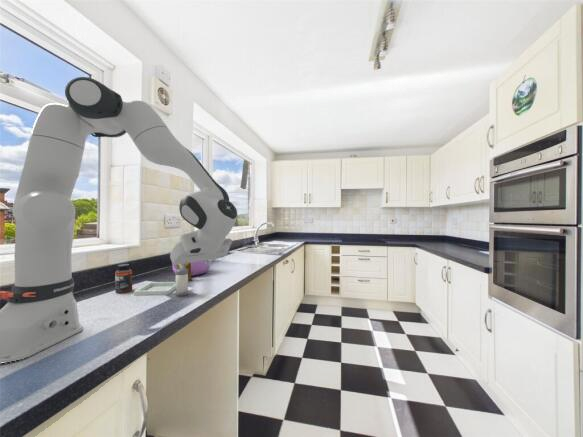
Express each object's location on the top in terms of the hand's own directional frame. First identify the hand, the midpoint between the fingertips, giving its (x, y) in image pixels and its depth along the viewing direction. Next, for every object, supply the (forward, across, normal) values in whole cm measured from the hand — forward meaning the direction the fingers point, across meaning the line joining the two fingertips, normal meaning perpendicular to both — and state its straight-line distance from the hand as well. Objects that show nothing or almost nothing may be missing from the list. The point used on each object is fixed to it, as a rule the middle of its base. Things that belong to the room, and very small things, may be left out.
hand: (194, 265), depth 90 cm
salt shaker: (+16, 0, +2) cm, 17 cm away
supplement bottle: (+35, +13, -15) cm, 40 cm away
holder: (+17, 0, +3) cm, 17 cm away
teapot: (+41, -20, -20) cm, 50 cm away
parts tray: (+27, +4, -6) cm, 28 cm away
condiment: (+32, -11, -12) cm, 36 cm away
